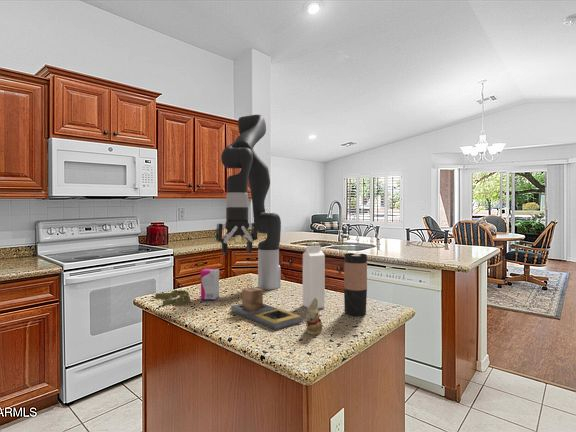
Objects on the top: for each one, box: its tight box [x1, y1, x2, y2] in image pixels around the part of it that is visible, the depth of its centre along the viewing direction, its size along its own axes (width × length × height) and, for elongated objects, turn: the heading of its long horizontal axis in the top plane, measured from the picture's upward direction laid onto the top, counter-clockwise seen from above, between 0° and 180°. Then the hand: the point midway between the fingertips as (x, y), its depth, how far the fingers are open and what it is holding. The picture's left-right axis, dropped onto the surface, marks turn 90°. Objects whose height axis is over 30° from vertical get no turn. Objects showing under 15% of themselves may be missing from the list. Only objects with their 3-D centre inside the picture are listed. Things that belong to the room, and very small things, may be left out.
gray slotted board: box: [230, 303, 301, 331], centre depth 115 cm, size 10×24×2 cm, turn 41°
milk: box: [302, 245, 326, 309], centre depth 127 cm, size 6×6×22 cm
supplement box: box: [200, 268, 220, 302], centre depth 138 cm, size 6×6×12 cm
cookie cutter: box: [154, 289, 191, 307], centre depth 137 cm, size 18×12×2 cm, turn 32°
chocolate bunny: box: [305, 298, 323, 336], centre depth 102 cm, size 6×8×10 cm
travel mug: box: [343, 252, 368, 317], centre depth 120 cm, size 8×8×20 cm
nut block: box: [241, 286, 264, 311], centre depth 120 cm, size 5×5×8 cm
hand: (237, 253), depth 121 cm, fingers open, 8 cm apart
